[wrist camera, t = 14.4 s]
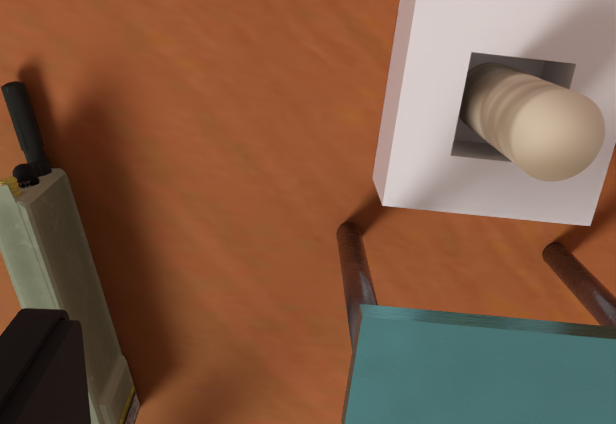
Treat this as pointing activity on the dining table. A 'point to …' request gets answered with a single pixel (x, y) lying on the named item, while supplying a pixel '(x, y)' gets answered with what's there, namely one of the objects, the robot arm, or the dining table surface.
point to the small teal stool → (476, 356)
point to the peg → (532, 121)
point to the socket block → (448, 95)
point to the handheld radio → (60, 263)
